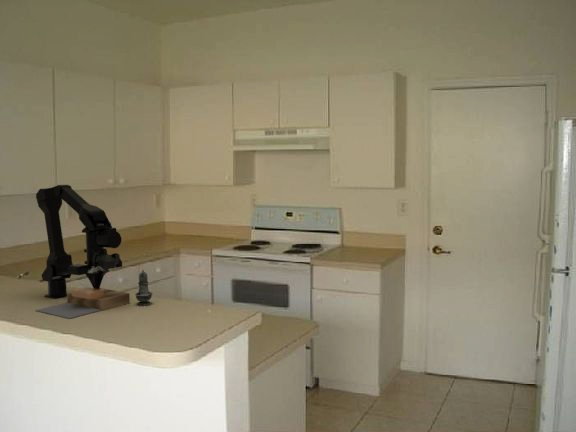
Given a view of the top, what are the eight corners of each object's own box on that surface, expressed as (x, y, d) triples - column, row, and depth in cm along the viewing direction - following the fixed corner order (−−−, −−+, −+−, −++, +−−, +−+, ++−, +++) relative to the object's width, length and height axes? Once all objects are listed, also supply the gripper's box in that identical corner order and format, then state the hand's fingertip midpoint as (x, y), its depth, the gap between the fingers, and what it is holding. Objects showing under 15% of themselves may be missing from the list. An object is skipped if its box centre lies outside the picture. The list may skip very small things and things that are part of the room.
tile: (72, 296, 197) (71, 290, 197) (86, 292, 202) (86, 287, 202) (89, 299, 192) (89, 293, 192) (104, 295, 197) (103, 289, 197)
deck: (67, 303, 201) (67, 293, 201) (96, 296, 211) (95, 287, 211) (101, 310, 191) (100, 300, 191) (129, 303, 201) (129, 293, 201)
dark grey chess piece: (155, 302, 202) (154, 268, 201) (149, 306, 197) (148, 271, 195) (138, 301, 203) (137, 268, 202) (132, 305, 197) (131, 271, 196)
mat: (35, 311, 191) (35, 310, 191) (67, 303, 201) (67, 302, 201) (69, 319, 181) (69, 318, 181) (101, 310, 191) (101, 309, 191)
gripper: (87, 251, 186) (89, 299, 188) (132, 244, 202) (133, 288, 203) (65, 249, 192) (67, 295, 194) (110, 242, 208) (112, 284, 209)
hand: (96, 290), depth 200 cm, fingers closed
